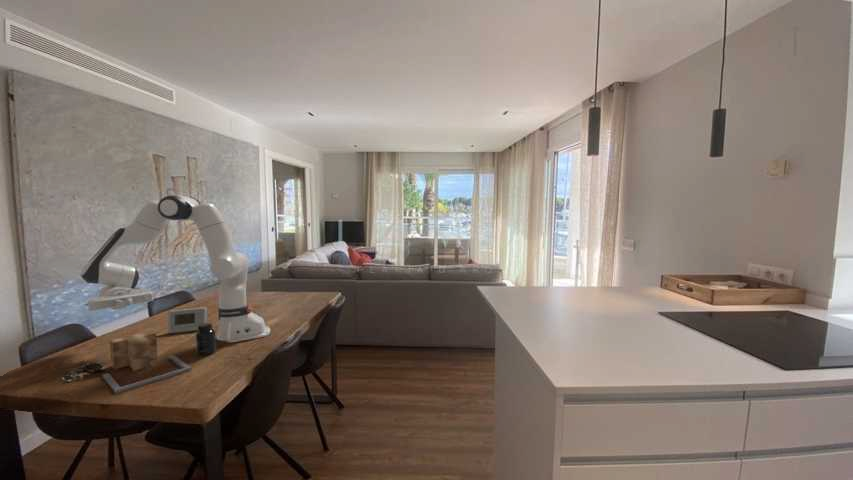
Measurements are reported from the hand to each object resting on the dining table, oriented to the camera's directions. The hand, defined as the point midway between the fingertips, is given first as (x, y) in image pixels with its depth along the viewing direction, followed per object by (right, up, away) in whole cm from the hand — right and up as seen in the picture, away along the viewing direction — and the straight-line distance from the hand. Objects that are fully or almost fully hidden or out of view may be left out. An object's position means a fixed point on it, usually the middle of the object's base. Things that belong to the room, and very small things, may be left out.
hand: (126, 303), depth 137 cm
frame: (+19, -23, -13) cm, 32 cm away
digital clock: (+2, -20, +33) cm, 39 cm away
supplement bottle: (+28, -22, +5) cm, 36 cm away
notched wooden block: (+9, -22, -5) cm, 25 cm away
